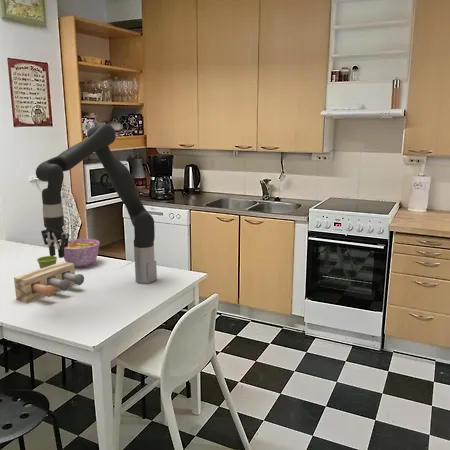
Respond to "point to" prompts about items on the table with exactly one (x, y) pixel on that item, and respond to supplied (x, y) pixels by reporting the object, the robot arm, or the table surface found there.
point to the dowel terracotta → (43, 289)
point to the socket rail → (40, 280)
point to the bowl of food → (81, 252)
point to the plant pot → (46, 261)
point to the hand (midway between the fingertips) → (57, 256)
